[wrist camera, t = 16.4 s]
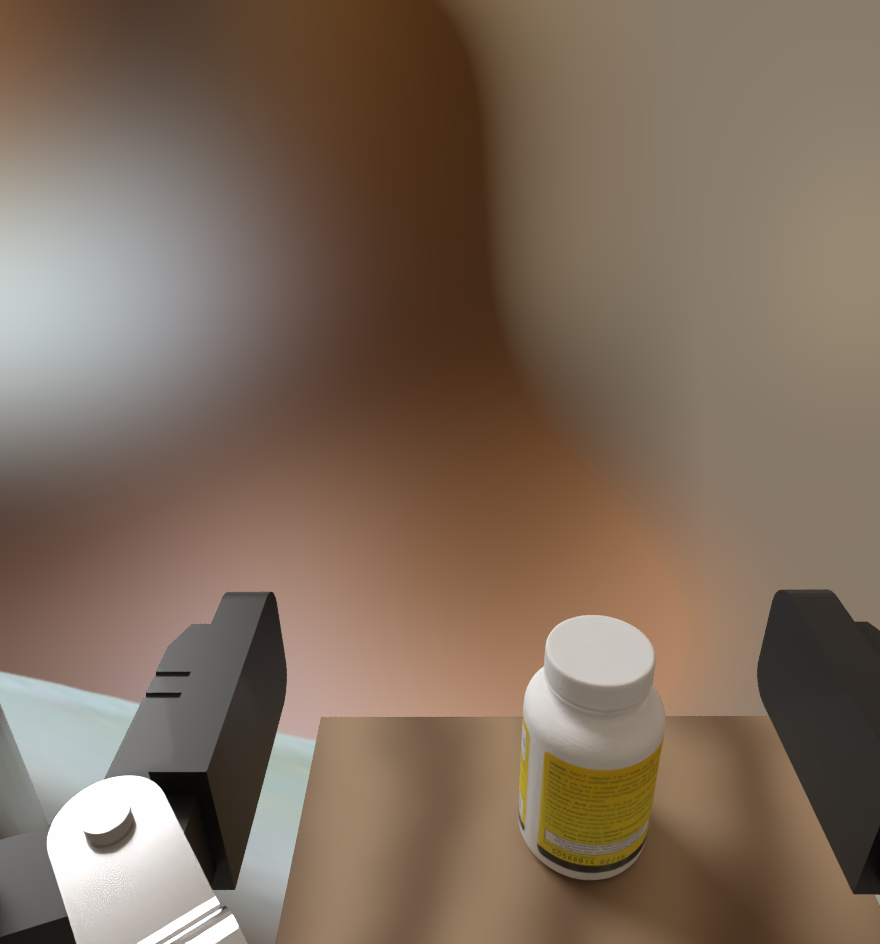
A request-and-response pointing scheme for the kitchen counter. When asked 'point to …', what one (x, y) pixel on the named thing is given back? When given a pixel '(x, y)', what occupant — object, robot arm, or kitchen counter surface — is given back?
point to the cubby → (527, 878)
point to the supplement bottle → (590, 748)
